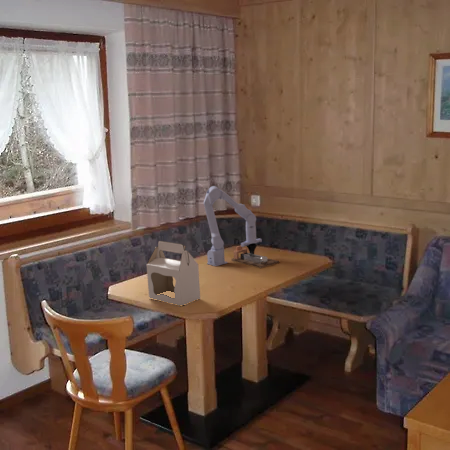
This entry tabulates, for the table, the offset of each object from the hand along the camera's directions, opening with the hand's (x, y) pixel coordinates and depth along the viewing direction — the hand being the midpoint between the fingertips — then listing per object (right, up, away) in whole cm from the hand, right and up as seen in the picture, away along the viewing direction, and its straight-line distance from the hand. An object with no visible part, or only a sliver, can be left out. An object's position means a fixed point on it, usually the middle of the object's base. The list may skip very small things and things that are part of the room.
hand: (252, 256), depth 374 cm
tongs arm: (+1, -2, -3) cm, 3 cm away
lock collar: (-6, -1, +4) cm, 8 cm away
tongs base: (+1, -3, -5) cm, 6 cm away
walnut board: (+2, -3, -2) cm, 4 cm away
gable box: (-40, -18, -62) cm, 76 cm away
